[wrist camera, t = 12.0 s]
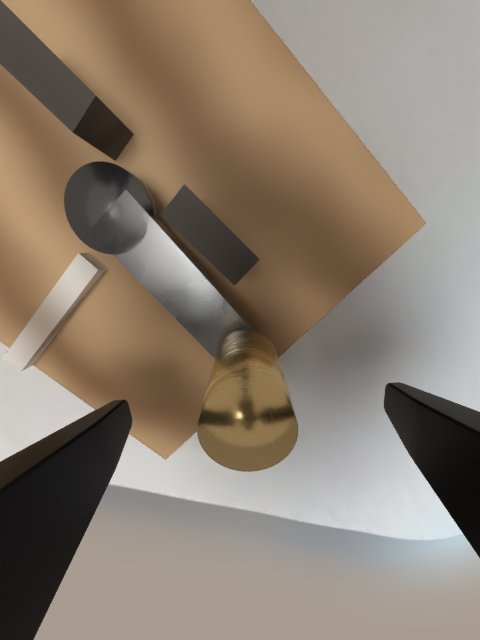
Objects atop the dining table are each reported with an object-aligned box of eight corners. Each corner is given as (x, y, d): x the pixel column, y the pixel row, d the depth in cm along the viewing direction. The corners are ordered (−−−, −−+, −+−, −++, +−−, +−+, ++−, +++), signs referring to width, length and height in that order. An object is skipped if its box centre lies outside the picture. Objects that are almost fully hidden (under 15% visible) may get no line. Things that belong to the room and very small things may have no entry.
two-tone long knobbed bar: (66, 210, 11) (-130, 169, 5) (116, 151, 11) (-48, 27, 5) (239, 386, 14) (235, 490, 8) (289, 348, 13) (326, 432, 7)
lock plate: (49, -214, 9) (-119, -612, 5) (406, 225, 14) (482, 215, 9) (-138, 215, 14) (-310, 200, 10) (171, 442, 18) (149, 503, 14)
